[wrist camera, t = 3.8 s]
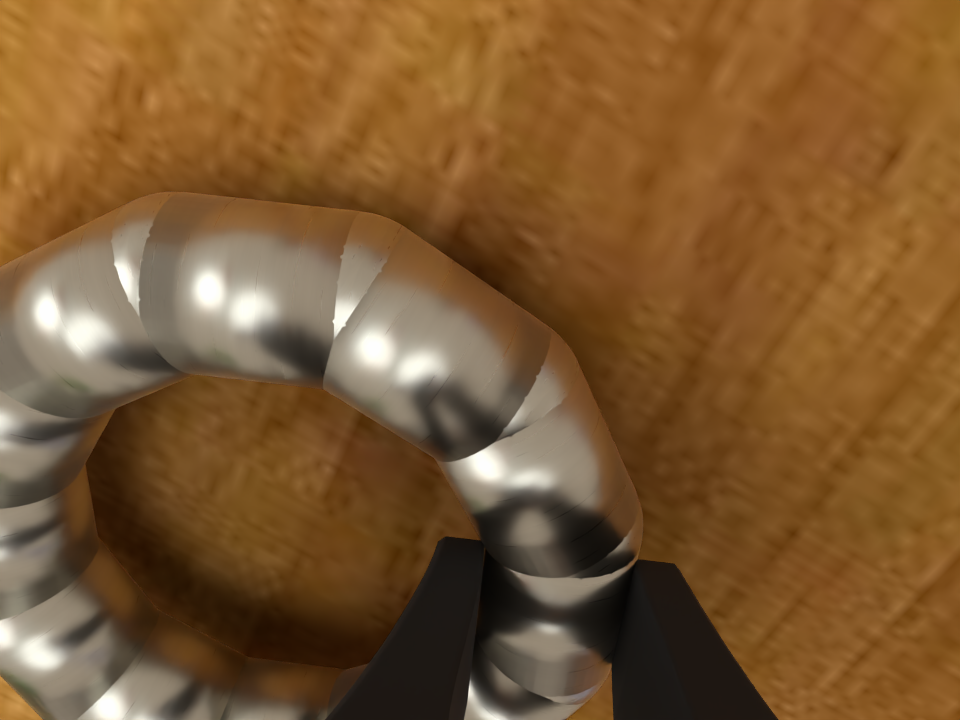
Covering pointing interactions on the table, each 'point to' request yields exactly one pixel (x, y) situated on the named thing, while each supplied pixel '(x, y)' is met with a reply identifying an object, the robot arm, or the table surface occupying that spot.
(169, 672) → the segmented metal ring
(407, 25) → the table surface
